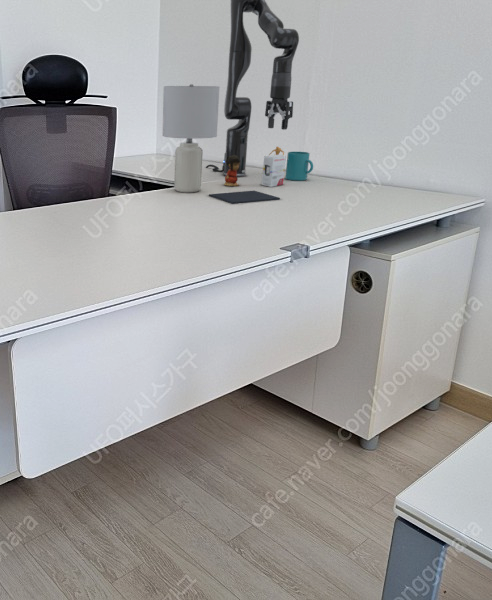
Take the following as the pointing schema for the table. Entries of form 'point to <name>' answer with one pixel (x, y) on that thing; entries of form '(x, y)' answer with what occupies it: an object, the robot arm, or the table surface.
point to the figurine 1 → (232, 170)
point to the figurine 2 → (277, 151)
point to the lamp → (189, 129)
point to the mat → (244, 197)
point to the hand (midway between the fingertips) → (277, 128)
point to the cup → (298, 166)
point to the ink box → (273, 170)
